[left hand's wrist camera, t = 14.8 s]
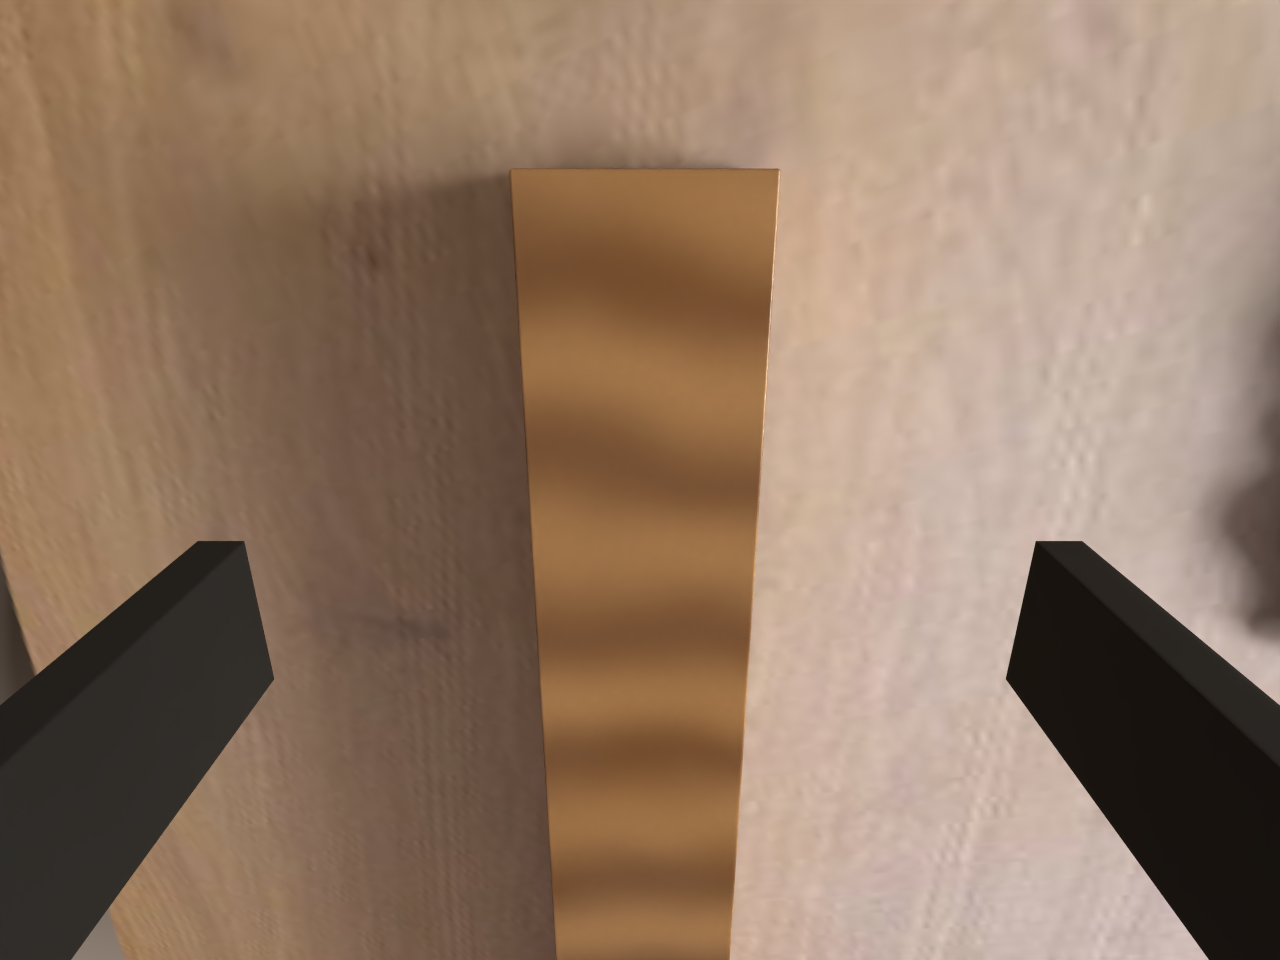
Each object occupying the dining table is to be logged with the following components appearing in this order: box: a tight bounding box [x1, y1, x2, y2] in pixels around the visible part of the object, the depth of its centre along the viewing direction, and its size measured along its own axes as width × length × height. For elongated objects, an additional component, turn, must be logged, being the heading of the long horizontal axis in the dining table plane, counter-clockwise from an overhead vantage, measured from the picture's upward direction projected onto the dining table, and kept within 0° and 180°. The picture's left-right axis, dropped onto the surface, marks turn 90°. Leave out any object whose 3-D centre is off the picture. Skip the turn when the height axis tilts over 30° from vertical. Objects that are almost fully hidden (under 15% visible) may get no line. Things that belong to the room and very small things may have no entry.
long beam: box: [509, 169, 781, 960], centre depth 40 cm, size 64×9×8 cm, turn 0°
